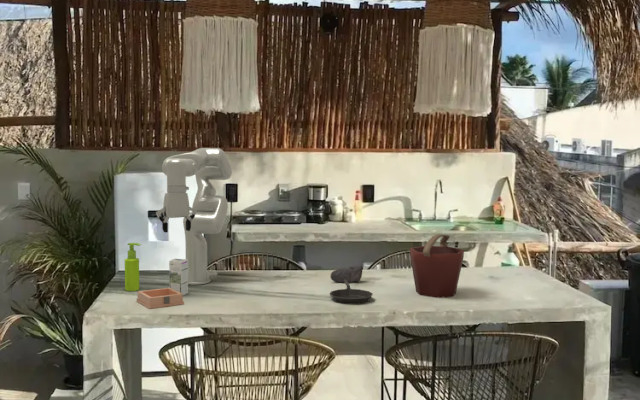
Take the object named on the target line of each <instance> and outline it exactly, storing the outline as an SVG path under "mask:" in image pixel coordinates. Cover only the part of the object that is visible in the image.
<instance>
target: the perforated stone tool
mask: <svg viewBox="0 0 640 400" xmlns="http://www.w3.org/2000/svg"><path fill="white" fill-rule="evenodd" d="M362 276H363V268H362V267H361V266H353V267H351V266H349V267H343V268H342V267H341V268H337V269H336V270H333V271H332V272H331V273H330V279H331V281H333V282H335V283H343V284H345V282H344V280H343V279H346V280H347V281H348V283H349V284H350V283H351V284H352V283H354V282H355V283H359V282H360V281H361V279H362Z"/></svg>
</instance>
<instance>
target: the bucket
mask: <svg viewBox="0 0 640 400" xmlns="http://www.w3.org/2000/svg"><path fill="white" fill-rule="evenodd" d="M450 237H451V235H448V234H443V233H441V234H440V233H439V234H434V235H432V236H431V238H429V240H428V242H427V243H425V244H424V245H422V246H416V247H410V248H409V257H410V262H411V268H412V275H413V281H414V287H415V291H416V293H417V294H418V295H419V296H423V297H428V298H429V297H430V298H451V297H454V296H455V295H456V293H457V289H458V288H457V287H458V283H459V280H460V275H461V270H462V266H463V261H464V257H465V253H464V250H465V249H462V248H457V247H456V248H455V247H451V246H449V245H448V241H449V239H450ZM439 238H441V239H440V241H439V245H438V246H437V245H435V244H436V242H437V241H438V240H439Z"/></svg>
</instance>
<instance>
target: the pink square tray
mask: <svg viewBox="0 0 640 400" xmlns="http://www.w3.org/2000/svg"><path fill="white" fill-rule="evenodd" d="M136 292H137V298H136V302H137V303H139V304H140V305H142V306H144V307H145V308H147V309H158V308H165V307H172V306H181V305H185V301H184V295H183V294H182V293H180V292H178V291H176V290H174V289H171V288H170V287H164V288H157V289H156V288H155V289H148V290H137V291H136Z"/></svg>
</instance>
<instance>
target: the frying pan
mask: <svg viewBox="0 0 640 400" xmlns="http://www.w3.org/2000/svg"><path fill="white" fill-rule="evenodd" d="M343 280H344V282H345V283H344V284H345V286H346V288H344V289H343V288H341V289H335V290H331V291H330V292H329V296H330V297H331V298H332V299H333V301H335V302H336V303H340V304H347V305H348V304H351V305H357V304H358V305H359V304H365V303H368V302H369V300H370V299H371V298H372V297H373V294H374V293H372V292H371V291H368V290H366V289H365V290H364V289H359V288H357V289H356V288H351V285H350V283H348V281H347V280H346V279H343Z"/></svg>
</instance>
